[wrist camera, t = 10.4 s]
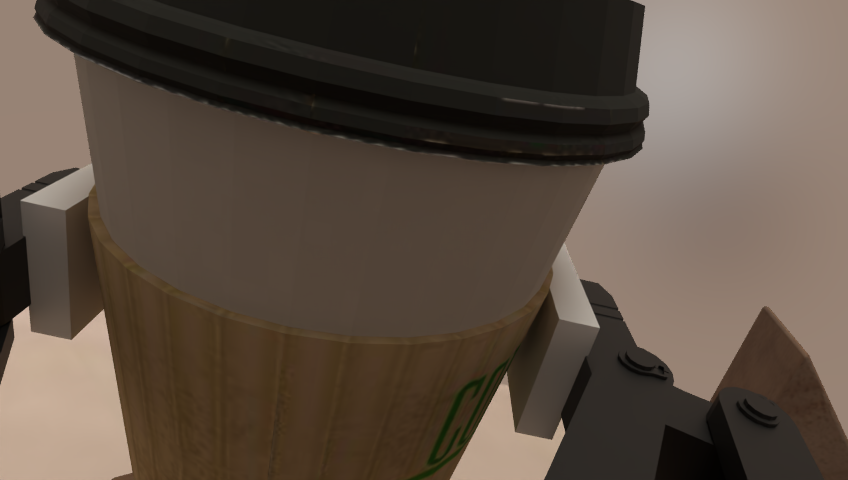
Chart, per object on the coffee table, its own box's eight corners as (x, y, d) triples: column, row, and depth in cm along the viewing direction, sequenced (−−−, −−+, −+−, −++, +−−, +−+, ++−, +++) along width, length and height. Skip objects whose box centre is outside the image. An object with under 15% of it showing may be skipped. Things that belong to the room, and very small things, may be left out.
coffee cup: (525, 587, 16) (783, 43, 10) (171, 927, 9) (273, -118, 3) (328, 379, 22) (410, -45, 16) (23, 496, 15) (-49, -168, 9)
